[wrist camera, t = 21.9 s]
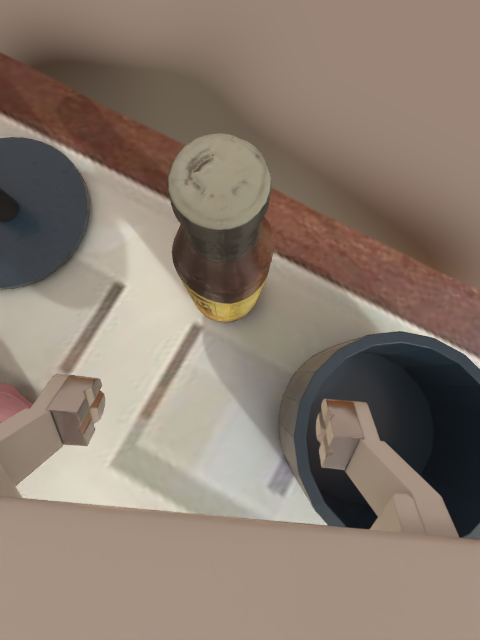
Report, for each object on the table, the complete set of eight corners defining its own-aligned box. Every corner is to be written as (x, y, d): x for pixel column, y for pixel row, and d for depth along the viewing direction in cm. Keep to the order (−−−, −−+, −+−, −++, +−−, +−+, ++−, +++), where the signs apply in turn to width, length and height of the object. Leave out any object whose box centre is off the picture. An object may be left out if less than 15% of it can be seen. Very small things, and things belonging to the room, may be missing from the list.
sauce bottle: (186, 271, 33) (114, 111, 13) (248, 255, 33) (268, 76, 13) (203, 335, 32) (152, 267, 12) (267, 318, 32) (318, 224, 12)
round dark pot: (468, 466, 30) (559, 501, 22) (323, 541, 29) (359, 609, 20) (390, 319, 32) (445, 299, 24) (252, 383, 31) (258, 386, 22)
